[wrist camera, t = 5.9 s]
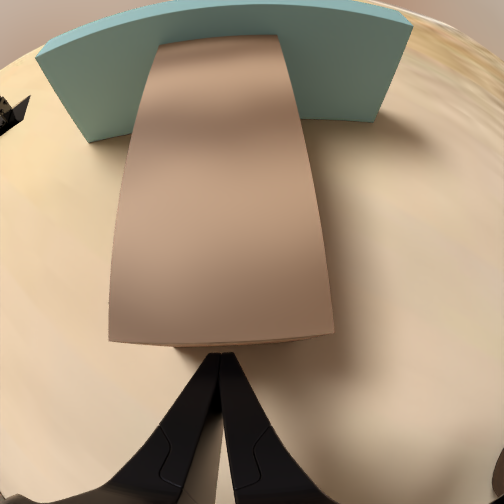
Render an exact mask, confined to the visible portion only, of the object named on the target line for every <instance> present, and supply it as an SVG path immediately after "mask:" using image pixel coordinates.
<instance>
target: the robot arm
mask: <svg viewBox="0 0 504 504" xmlns="http://www.w3.org/2000/svg"><path fill="white" fill-rule="evenodd" d="M159 425H160V426H157V428H156V429H155V430H154V432H153V433H152V435H151V436H150V437H149V438H148V440H147V441H146V442H145V444H144V445H143V446H142V447H141V448H140V449H139V450H138V452H137V453H136V454H135V455H134V456H133V457H132V458H131V459H130V460H129V461H128V462H127V463H126V464H125V465H124V466H123V467H122V468H121V469H120V470H119V471H118V472H117V473H116V474H115V475H114V476H113V477H112V478H111V479H110V480H109V481H108V482H107V483H105V484H104V485H102V486H101V487H99V488H97V489H94V490H91V491H88V492H85V493H82V494H79V495H76V496H73V497H69V498H66V499H62V500H59V501H55V502H51V503H38V502H34V501H32V500H30V499H28V498H26V497H24V496H22V495H20V494H16V495H13V496H11V497H8V498H7V499H5V500H4V501H3V502H2V503H1V504H215V497H216V488H217V479H218V470H219V461H220V453H221V444H222V435H223V427H224V431H225V439H226V446H227V453H228V460H229V466H230V473H231V479H232V485H233V490H234V497H235V504H339V503H337V502H336V501H334V500H333V499H331V498H329V497H328V496H327V495H326V494H325V493H324V492H322V491H321V490H320V489H319V488H318V487H317V486H316V485H315V483H314V482H313V481H312V480H311V479H310V478H309V477H308V475H307V474H306V473H305V472H304V471H303V470H302V468H301V467H300V466H299V465H298V464H297V462H296V461H295V460H294V459H293V457H292V456H291V455H290V453H289V452H288V451H287V449H286V448H285V447H284V445H283V444H282V442H281V440H280V439H279V437H278V435H277V434H276V432H275V430H274V428H273V427H272V426H271V423H270V421H269V419H268V418H267V416H266V414H265V412H264V410H263V408H262V406H261V405H260V403H259V401H258V399H257V397H256V395H255V393H254V391H253V389H252V387H251V385H250V384H249V382H248V380H247V378H246V376H245V374H244V372H243V370H242V368H241V366H240V364H239V362H238V360H237V358H236V356H235V354H234V353H233V352H223V353H222V354H221V353H209V354H208V355H207V356H206V358H205V359H204V360H203V362H202V363H201V365H200V366H199V368H198V369H197V371H196V372H195V374H194V375H193V376H192V378H191V379H190V381H189V382H188V384H187V385H186V387H185V388H184V389H183V391H182V392H181V394H180V395H179V397H178V398H177V399H176V401H175V402H174V404H173V405H172V407H171V408H170V409H169V411H168V412H167V414H166V415H165V416H164V418H163V419H162V421H161V422H160V424H159ZM489 504H504V494H503V495H501V496H500V497H498V498H497V499H495V500H494V501H492V502H491V503H489Z"/></svg>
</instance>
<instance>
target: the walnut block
mask: <svg viewBox="0 0 504 504" xmlns="http://www.w3.org/2000/svg"><path fill="white" fill-rule="evenodd" d="M332 333H335V330H334V320H333V310H332V301H331V293H330V285H329V277H328V269H327V262H326V255H325V248H324V241H323V235H322V228H321V222H320V216H319V210H318V205H317V199H316V194H315V188H314V183H313V178H312V173H311V168H310V163H309V158H308V153H307V148H306V144H305V139H304V135H303V130H302V126H301V121H300V117H299V113H298V109H297V105H296V101H295V97H294V93H293V89H292V85H291V81H290V78H289V74H288V70H287V67H286V63H285V60H284V56H283V53H282V49H281V46H280V42H279V39H278V36H277V35H238V36H223V37H211V38H202V39H194V40H187V41H180V42H174V43H168V44H162V45H159V47H158V50H157V52H156V55H155V58H154V61H153V64H152V66H151V69H150V72H149V76H148V79H147V82H146V85H145V88H144V91H143V95H142V98H141V102H140V105H139V109H138V112H137V116H136V120H135V124H134V128H133V132H132V136H131V140H130V145H129V149H128V154H127V158H126V163H125V168H124V173H123V179H122V184H121V190H120V196H119V203H118V209H117V216H116V224H115V232H114V241H113V250H112V262H111V275H110V292H109V341H112V342H121V343H131V344H143V345H155V346H171V347H193V346H229V345H249V344H265V343H278V342H290V341H299V340H304V339H309V338H314V337H318V336H323V335H328V334H332Z"/></svg>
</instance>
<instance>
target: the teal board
mask: <svg viewBox="0 0 504 504" xmlns="http://www.w3.org/2000/svg"><path fill="white" fill-rule="evenodd" d="M412 29H413V25H412V24H411V23H410V22H409V21H408V20H407V19H406V18H405V17H404V16H403V15H402V14H401V13H400V12H398V11H396V10H392V9H388V8H385V7H380V6H376V5H372V4H367V3H363V2H357V1H352V0H173V1H167V2H162V3H157V4H153V5H148V6H144V7H140V8H136V9H132V10H129V11H125V12H122V13H118V14H115V15H112V16H109V17H105V18H102V19H99V20H97V21H94V22H91V23H88V24H86V25H83V26H80V27H78V28H75V29H73V30H71V31H68V32H66V33H63V34H61V35H59V36H57V37H55V38H52V39H50V40H49V41H48V42H47V43H46V44H45V46H44V47H43V48H42V49H41V51H40V52H39V53H38V54H37V56H36V57H35V59H36V60H37V62H38V64H39V66H40V67H41V69H42V71H43V73H44V74H45V76H46V78H47V79H48V81H49V83H50V84H51V86H52V88H53V89H54V91H55V93H56V94H57V96H58V97H59V99H60V101H61V102H62V104H63V105H64V107H65V108H66V110H67V112H68V113H69V115H70V116H71V118H72V119H73V121H74V122H75V124H76V125H77V127H78V128H79V130H80V131H81V133H82V134H83V136H84V137H85V139H86V140H87V142H88V143H89V142H94V141H98V140H102V139H107V138H112V137H116V136H121V135H126V134H132V132H133V128H134V124H135V120H136V116H137V112H138V109H139V105H140V102H141V98H142V95H143V91H144V88H145V85H146V82H147V79H148V76H149V72H150V69H151V66H152V64H153V61H154V58H155V55H156V52H157V50H158V47H159V45H162V44H168V43H174V42H180V41H187V40H194V39H202V38H211V37H223V36H238V35H277V36H278V39H279V42H280V46H281V49H282V53H283V56H284V60H285V63H286V67H287V70H288V74H289V78H290V81H291V85H292V89H293V93H294V97H295V101H296V105H297V109H298V113H299V117H300V119H326V120H346V121H360V122H372V123H373V122H374V120H375V118H376V116H377V113H378V111H379V109H380V107H381V104H382V102H383V100H384V98H385V95H386V93H387V91H388V88H389V86H390V84H391V81H392V79H393V76H394V74H395V72H396V69H397V67H398V64H399V62H400V59H401V57H402V54H403V52H404V49H405V47H406V44H407V42H408V39H409V37H410V34H411V31H412Z"/></svg>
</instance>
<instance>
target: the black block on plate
mask: <svg viewBox="0 0 504 504" xmlns="http://www.w3.org/2000/svg"><path fill="white" fill-rule="evenodd" d="M30 96H31V95H30ZM30 96H28V97H27V98H25V99H24V100H22V101H21V102H19V103H18V104H16V105H15V106H14V107H11V106H10V105H9V103H8V102H7V100H5V98H4V97H1V96H0V115H1V116H0V136H1V135H3V134H4V133H5V132H7V131H8V130H9V129H11V128H12V127H14V126H15V125H17V124H18V123H19V122H21V121H22V120H23V119H24V116H25V112H26V109H27V105H28V102H29V99H30Z"/></svg>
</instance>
